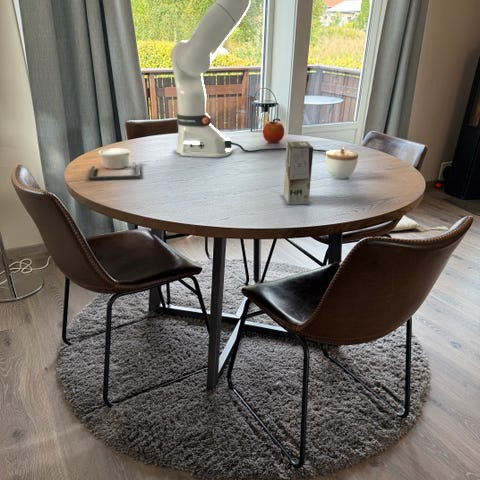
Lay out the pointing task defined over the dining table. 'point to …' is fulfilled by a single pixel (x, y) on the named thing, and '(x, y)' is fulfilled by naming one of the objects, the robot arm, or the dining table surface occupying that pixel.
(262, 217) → the dining table surface
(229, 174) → the dining table surface
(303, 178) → the coffee box
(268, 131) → the fruit
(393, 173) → the dining table surface
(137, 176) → the bay
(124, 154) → the ramekin
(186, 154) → the robot arm
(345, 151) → the trinket box
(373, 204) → the dining table surface
